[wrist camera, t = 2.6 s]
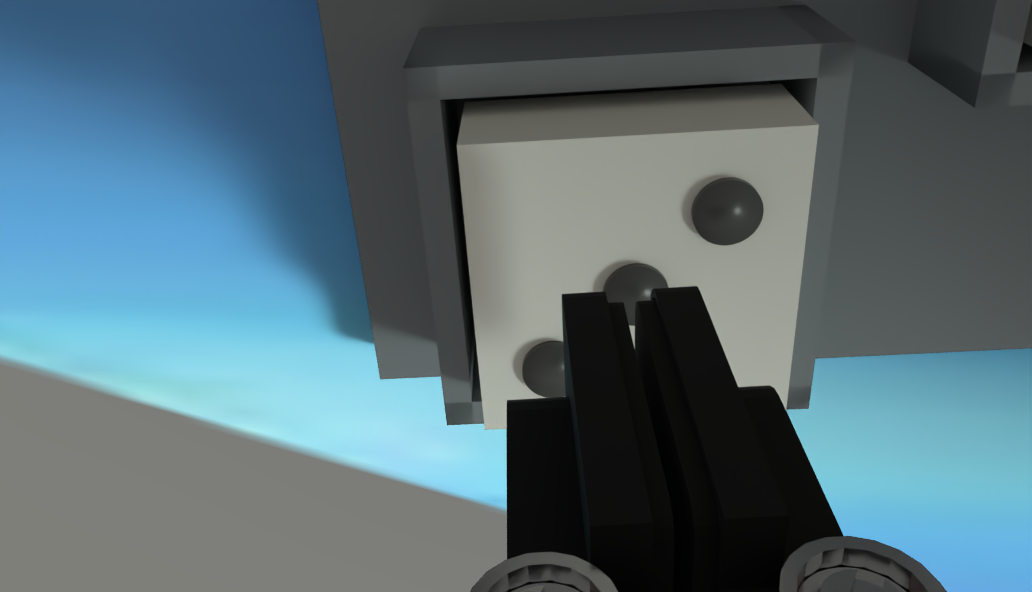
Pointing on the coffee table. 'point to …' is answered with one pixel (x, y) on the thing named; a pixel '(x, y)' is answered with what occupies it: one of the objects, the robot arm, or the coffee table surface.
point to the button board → (708, 64)
